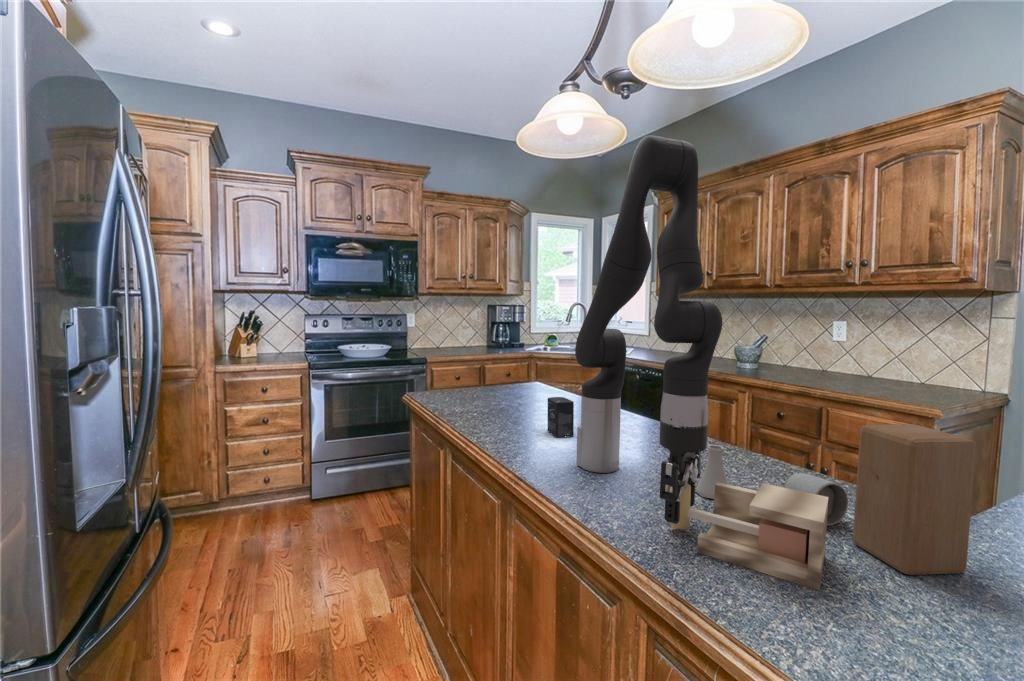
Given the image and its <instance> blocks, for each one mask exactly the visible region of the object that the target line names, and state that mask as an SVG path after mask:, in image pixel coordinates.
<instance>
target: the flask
mask: <svg viewBox="0 0 1024 681" xmlns="http://www.w3.org/2000/svg"><path fill="white" fill-rule="evenodd" d="M706 450H708V456H707V460H706V465H705V467H704V469H703V472H702V474H701V476H700V478H699V479H700V480H699V481H698V482H697V485H696V487H695V493H697V494H698V495H699V496H701V497H702V498H708V499H712V500H714V494H715V484H716V483H717V482H719V483H723V484H728V485H730V484H729V480H728V477H727V474H726V470H725V467H724V461H723V451H724V450H725V447H723V446H722V445H718V444H707V448H706Z"/></svg>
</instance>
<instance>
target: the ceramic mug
mask: <svg viewBox="0 0 1024 681" xmlns="http://www.w3.org/2000/svg"><path fill="white" fill-rule="evenodd" d="M782 487H783V488H788V489H793V490H797V491H802V492H807V493H812V494H816V495H821V496H826V497H828V514H827V527H829V526H834V525H837V524H838V523H839V522H841V521H842V520H843V519H844V517H845V515H846V513H847V512H848V507H849V498H848V494H847V492H846V489H845V488H844V487H843V486H842V485H841V484H839V483H836V482H834V481H831V480H828V479H825V478H820V477H817V476H815V475H812V474H808V473H802V472H798V473H793V474H791V475H789V476H788V477H787V479H786V480H785V481H784V483H783V485H782Z"/></svg>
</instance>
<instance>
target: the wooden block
mask: <svg viewBox="0 0 1024 681" xmlns="http://www.w3.org/2000/svg"><path fill="white" fill-rule="evenodd" d="M976 455H977V443H976V442H975V441H974V440H972V439H970V438H967V437H964V436H960V435H957V434H953V433H949V432H945V431H942V430H937V429H935V428H930V427H925V426H922V425H918V424H916V423H915V424H913V423H912V424H906V423H905V424H864V425H863V426H861V427H860V430H859V441H858V454H857V473H856V484H855V485H856V486H855V502H854V518H853V533H852V539H853V542H854V543H855V545H856V546H858V547H859V548H861V549H862V550H865V552H867V553H869V554H871V555H873V556H874V557H875V558H877V559H879V560H881V561H882V562H884V563H886V564H888V565H889V566H890V567H892V568H894V569H895V570H897V571H899V572H900V573H902V574H904V575H908V576H914V575H915V576H916V575H917V576H918V575H939V574H940V575H943V574H962V573H964V572H965V570H966V569H967V562H968V550H969V539H970V537H969V536H970V526H971V513H972V501H973V491H974V478H975V466H976Z"/></svg>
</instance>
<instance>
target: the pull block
mask: <svg viewBox="0 0 1024 681" xmlns="http://www.w3.org/2000/svg"><path fill="white" fill-rule="evenodd" d="M670 492H671V493H672V487H670ZM690 499H691V486H690V485H689V484H687V487H686V489H683V490H682V494H681V500H680V520H679V522H678V523H677V524H674V523H671V522H669V525H670V527H672V528H674V529H677V530H688V529H690V518H691V519H694V520H698V521H703V522H706V523H710V524H712V525H713V524H716V525H720V526H723V527H727V528H731V529H734V530H738V531H742V532H745V533H749V534H753V535H756V536H759V537H758V550H760V551H764V552H767V553H771V554H774V555H778V556H781V557H785V558H788V559H792V560H795V561H799V562H802V563H805V564H806V560H807V556H808V551H809V535H810V530H807V529H803V528H799V527H795V526H791V525H787V524H783V523H779V522H775V521H771V520H767V519H763V518H761V520H760V522H759V525H755V524H752V523H748V522H744V521H740V520H736V519H732V518H729V517H725V516H721V515H717V514H714V512H709V511H705V510H701V509H697V508H693V507H691V506H690Z"/></svg>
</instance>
